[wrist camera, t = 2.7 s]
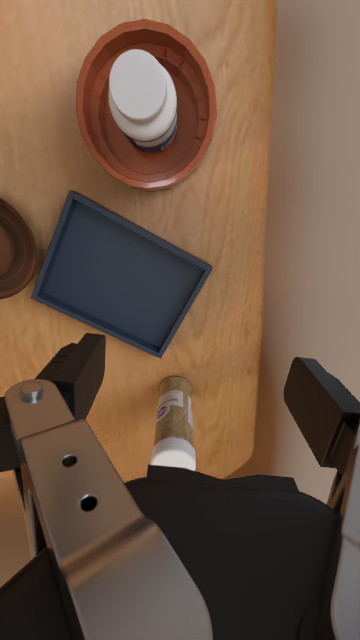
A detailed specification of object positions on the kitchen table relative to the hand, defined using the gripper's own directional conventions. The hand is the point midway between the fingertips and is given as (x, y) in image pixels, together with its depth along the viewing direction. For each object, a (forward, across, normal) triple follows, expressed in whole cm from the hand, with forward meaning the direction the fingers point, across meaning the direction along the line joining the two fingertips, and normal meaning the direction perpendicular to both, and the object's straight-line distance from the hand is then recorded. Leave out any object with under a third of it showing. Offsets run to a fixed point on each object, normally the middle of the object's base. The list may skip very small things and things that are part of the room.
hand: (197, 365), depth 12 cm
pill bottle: (+24, +5, -14) cm, 28 cm away
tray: (+24, +7, +3) cm, 25 cm away
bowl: (+24, +5, -14) cm, 28 cm away
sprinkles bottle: (+24, -1, +18) cm, 30 cm away
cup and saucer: (+24, +23, 0) cm, 33 cm away
